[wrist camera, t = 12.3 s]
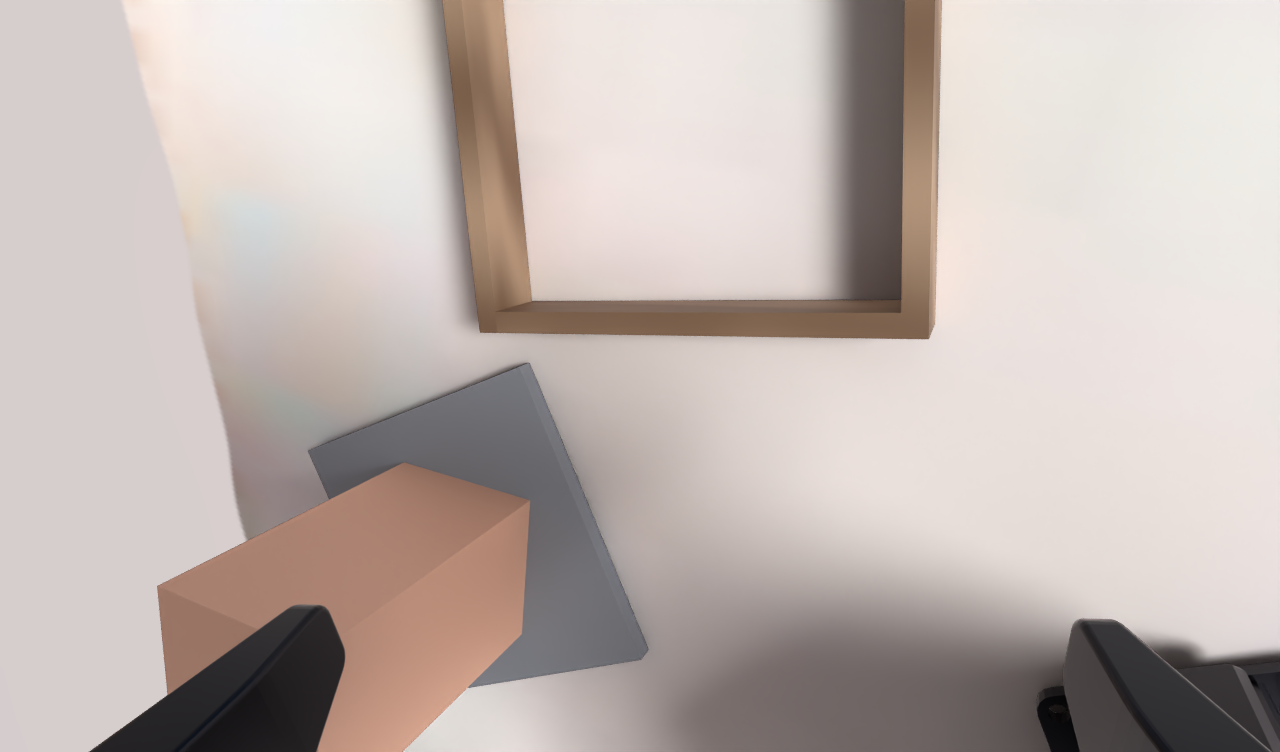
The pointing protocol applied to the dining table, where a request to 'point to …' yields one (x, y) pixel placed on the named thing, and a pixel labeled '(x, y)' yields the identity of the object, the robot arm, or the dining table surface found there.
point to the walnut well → (511, 309)
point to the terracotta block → (371, 597)
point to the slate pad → (558, 518)
